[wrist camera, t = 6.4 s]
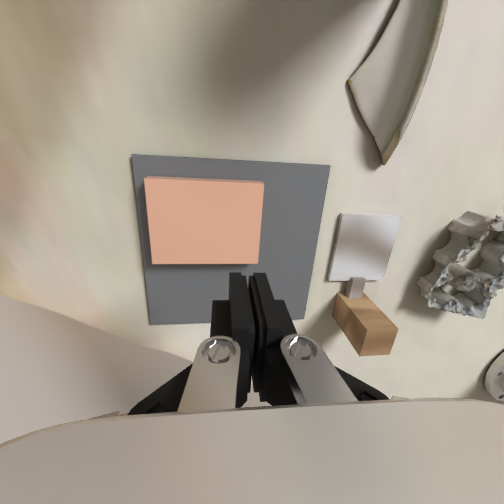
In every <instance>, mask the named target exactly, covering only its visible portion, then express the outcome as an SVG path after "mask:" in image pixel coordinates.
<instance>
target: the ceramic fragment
mask: <svg viewBox="0 0 504 504" xmlns="http://www.w3.org/2000/svg"><path fill="white" fill-rule="evenodd" d="M447 4H448V0H399V1H398V3H397V5H396V7H395V9H394V11H393V12H392V15H391V18H390V20H389V22H388V23H387V25H386V27H385V29H384V30H383V32H382V34H381V36H380V38H379V40H378V41H377V43H376V45H375V46H374V48H373V49H372V51H371V52H370V54H369V55H368V57H367V58H366V59H365V61H364V62H363V63H362V65H361V66H360V67H359V68H358V69H357V71H356V72H355V73H354V74H353V75H352V76H351V77H350V78H349V79H348V80H347V82H348V85H349V88H350V90H351V93H352V95H353V97H354V100H355V102H356V105H357V107H358V109H359V111H360V113H361V116H362V117H363V119H364V121H365V123H366V125H367V127H368V128H369V130H370V131H371V133H372V135H373V137H374V139H375V142H376V144H377V146H378V148H379V151H380V155H381V162H382V164H383V165H385V164H386V163H387V161H388V160H389V158H390V156H391V155H392V153H393V151H394V150H395V148H396V147H397V145H398V143H399V141H400V140H401V138H402V136H403V134H404V132H405V130H406V128H407V126H408V124H409V122H410V120H411V118H412V115H413V113H414V111H415V108H416V106H417V103H418V101H419V98H420V96H421V93H422V91H423V88H424V85H425V82H426V79H427V76H428V73H429V71H430V68H431V64H432V61H433V58H434V55H435V51H436V48H437V45H438V41H439V37H440V34H441V30H442V26H443V22H444V17H445V13H446V8H447Z"/></svg>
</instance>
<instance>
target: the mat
mask: <svg viewBox="0 0 504 504" xmlns="http://www.w3.org/2000/svg"><path fill="white" fill-rule="evenodd" d="M132 164H133V173H134V182H135V190H136V199H137V208H138V217H139V226H140V234H141V243H142V252H143V261H144V270H145V279H146V287H147V296H148V305H149V314H150V323H151V325H152V324H180V323H208V322H211V315H212V300H229V273H230V272H241V274H242V275H243V276H246V279H247V285H248V282H249V276H253V273H266V275H267V278H268V281H269V284H270V287H271V290H272V293H273V296H274V299H275V300H284V302H285V304H286V307H287V309H288V312H289V314H290V317H291V319H304V316H305V310H306V304H307V298H308V293H309V287H310V281H311V275H312V269H313V264H314V258H315V252H316V246H317V241H318V235H319V229H320V223H321V217H322V212H323V206H324V200H325V194H326V189H327V183H328V177H329V171H330V165H316V164H298V163H280V162H262V161H245V160H227V159H209V158H191V157H173V156H156V155H138V154H132ZM147 176H162V177H184V178H207V179H229V180H251V181H262V182H263V183H264V194H263V206H262V219H261V231H260V244H259V257H258V264H152V255H151V245H150V235H149V225H148V215H147V205H146V195H145V184H144V178H145V177H147Z"/></svg>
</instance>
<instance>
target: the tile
mask: <svg viewBox="0 0 504 504" xmlns="http://www.w3.org/2000/svg"><path fill="white" fill-rule="evenodd" d="M144 184H145V195H146V205H147V215H148V225H149V235H150V245H151V255H152V264H258V257H259V244H260V231H261V219H262V206H263V194H264V183H263V182H262V181H251V180H229V179H207V178H184V177H162V176H147V177H145V178H144Z"/></svg>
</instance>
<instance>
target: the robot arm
mask: <svg viewBox="0 0 504 504" xmlns="http://www.w3.org/2000/svg"><path fill="white" fill-rule="evenodd" d="M251 376H252V381H253V389H254V392H259V396H260V402H265V401H267V402H268V403H269V404H271V405H272V406H262V407H245V408H241V407H242V406H243V404H244V403H245V402H246V401H247V393H249V392H250V388H251ZM485 388H486V390H487V392H489V393H490V394H491V395H492V396H493V397H494V398H495V399H496V400H499V401H502V402H504V352H503V353H502V354H500V355H499V356H498V357H497V358H496V360H495V361H494V362H493V363H492V365H491V366H490V368H489V369H488V371H487V374H486V376H485ZM0 504H504V405H502V404H499V403H495V402H489V401H483V400H477V399H463V398H418V399H409V398H403V397H396V396H392V398H391V399H389V398H388V397H387V396H386V395H384V394H383V393H381V392H380V391H378V390H377V389H375V388H373V387H371V386H370V385H368V384H366V383H364V382H362V381H361V380H359V379H357V378H355V377H353V376H352V375H350V374H348V373H346V372H344V371H343V370H341V369H339V368H337V367H335V366H334V365H333V364H332V362H331V361H330V360H329V358H328V357H327V355H326V354H325V352H324V351H323V349H322V348H321V346H320V345H319V344H318V343H317V342H316V341H315V340H314V339H312V338H311V337H308V336H306V335H301V334H297V332H296V329H295V327H294V324H293V322H292V319H291V317H290V314H289V312H288V309H287V307H286V304H285V302H284V300H275V299H274V296H273V293H272V290H271V287H270V284H269V281H268V278H267V275H266V273H253V276H249V282H248V285H247V279H246V276H243V275H242V274H241V272H230V273H229V300H212V315H211V331H210V338H208V339H206V340H204V341H203V342H202V343H201V344H200V346H199V348H198V350H197V353H196V356H195V359H194V362H193V364H191V365H190V366H188V367H187V368H186V369H184V370H183V371H182V372H180V373H179V374H177V375H176V376H175V377H173V378H172V379H171V380H169V381H168V382H166V383H165V384H164V385H162V386H161V387H160V388H158V389H157V390H155V391H154V392H153V393H151V394H150V395H149V396H148V397H146V398H144V399H143V400H142V401H140V402H139V403H138V404H137V405H136V406H134V407H133V408H132V409H131V410H130V412H129V413H126V414H122V415H120V412H119V411H118V412H114V413H110V414H106V415H102V416H99V417H94V418H91V419H87V420H80V421H75V422H70V423H64V424H59V425H56V426H52V427H48V428H44V429H41V430H38V431H34V432H31V433H28V434H26V435H23V436H20V437H17V438H15V439H12V440H9V441H7V442H4V443H2V444H0Z"/></svg>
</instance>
